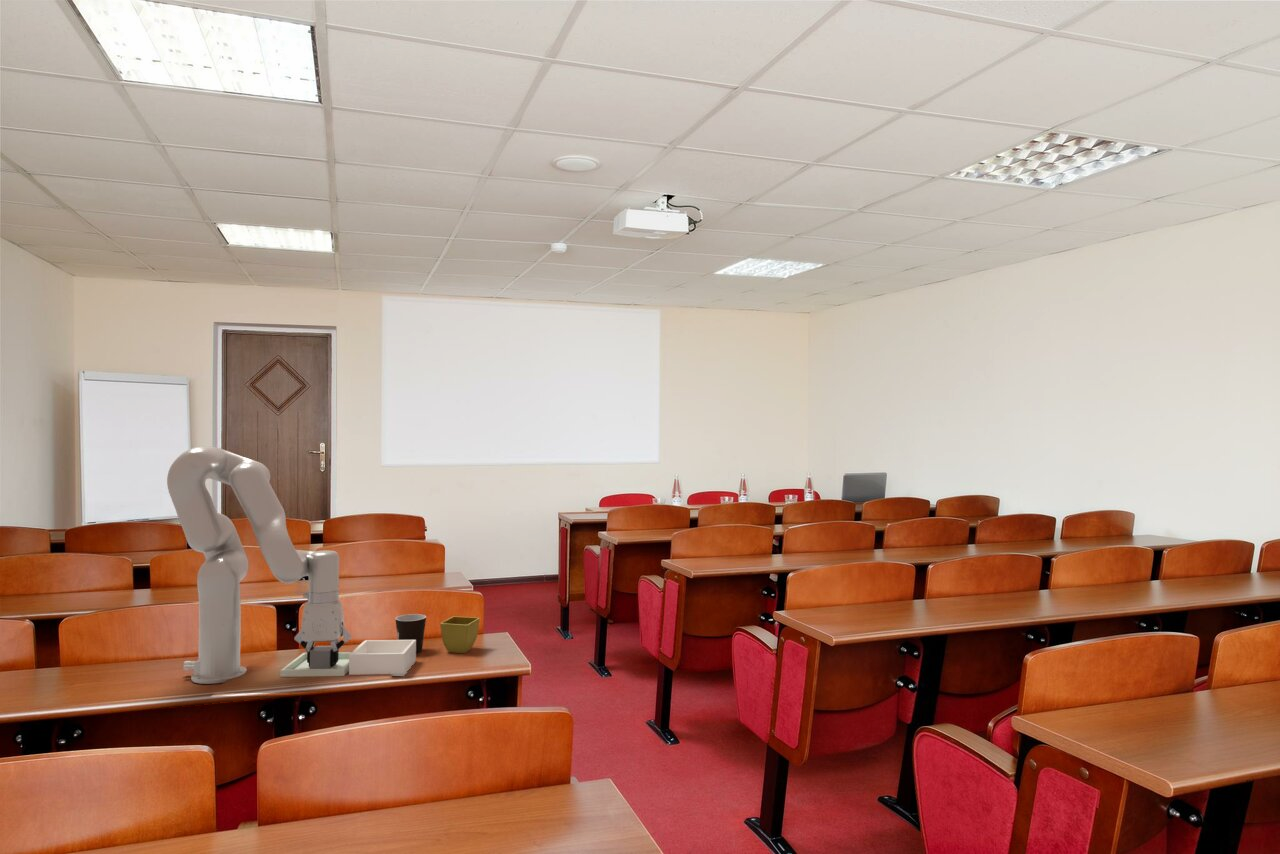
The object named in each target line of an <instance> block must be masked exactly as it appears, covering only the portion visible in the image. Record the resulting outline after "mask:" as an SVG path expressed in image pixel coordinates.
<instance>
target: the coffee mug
mask: <svg viewBox="0 0 1280 854" xmlns="http://www.w3.org/2000/svg"><path fill="white" fill-rule="evenodd" d="M426 621H427V616H426V615H425V614H419V613H412V614H411V613H409V614H402V615H397V616H396V617H395V627H396V637H397V638H396V639H397V640H416V655H418V653H419V654H420V653H422V652H423V645H424V638H425V628H426Z"/></svg>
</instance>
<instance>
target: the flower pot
mask: <svg viewBox="0 0 1280 854" xmlns="http://www.w3.org/2000/svg"><path fill="white" fill-rule="evenodd" d="M479 626H480V617H473V616H472V617H471V616H457V615H455V616H454V615H453V616H451V617H449V618H448V619H446V620H444V621H442V622H440V632H441V640H442V643H443V645H444V647H445V649H446V651H448V653H459V654H466V653H467V652H468V651H470V650H471V649H472V648H473V646H474V644H475V642H476V640H477V637H478V633H479Z"/></svg>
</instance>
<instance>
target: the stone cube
mask: <svg viewBox="0 0 1280 854" xmlns="http://www.w3.org/2000/svg"><path fill="white" fill-rule="evenodd" d="M331 652H332V646H331V645H316V646H314V648H313V649H312V650H311V651H310V669H330V668H332V667H331Z"/></svg>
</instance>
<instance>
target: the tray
mask: <svg viewBox="0 0 1280 854" xmlns="http://www.w3.org/2000/svg"><path fill="white" fill-rule="evenodd" d="M351 652H352V651H351ZM351 652H349V651H347V652H343V651H342V652H339V659H338V662H337V663H336V665H334V666H333V667H332V668H330V669H310V667H309V663H307V652H302V653H301V654H300V655H298V656H297V657H296V658H294V659H293V660H292V661H291V662H289V663H288V664H287V665H285V666H284V667H283V668H281V669H280V670H279V671H280V672H279V673H280V674H279V677H280V678H283V677H284V678H285V677H286V678H289V677H292V678H293V677H294V678H295V677H297V678H298V677H302V678H303V677H342V676H343V677H344V676H345V675H346V674H347V673H349V654H350V653H351Z"/></svg>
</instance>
